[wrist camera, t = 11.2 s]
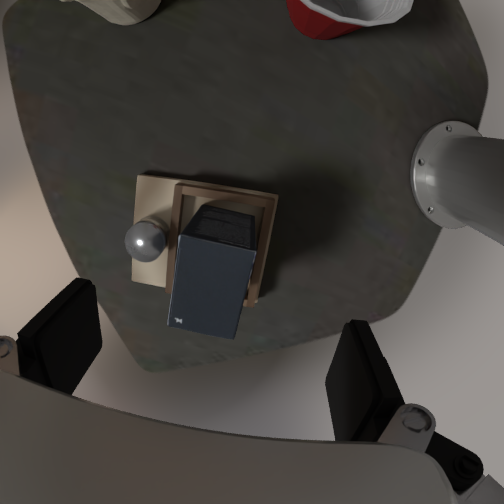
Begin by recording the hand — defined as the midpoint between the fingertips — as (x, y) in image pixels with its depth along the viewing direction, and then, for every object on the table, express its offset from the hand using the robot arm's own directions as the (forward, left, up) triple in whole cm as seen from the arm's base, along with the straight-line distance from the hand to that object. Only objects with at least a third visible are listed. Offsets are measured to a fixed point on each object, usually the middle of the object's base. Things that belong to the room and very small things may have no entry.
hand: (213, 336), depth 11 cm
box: (+1, +4, -22) cm, 22 cm away
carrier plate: (+4, +5, -23) cm, 24 cm away
